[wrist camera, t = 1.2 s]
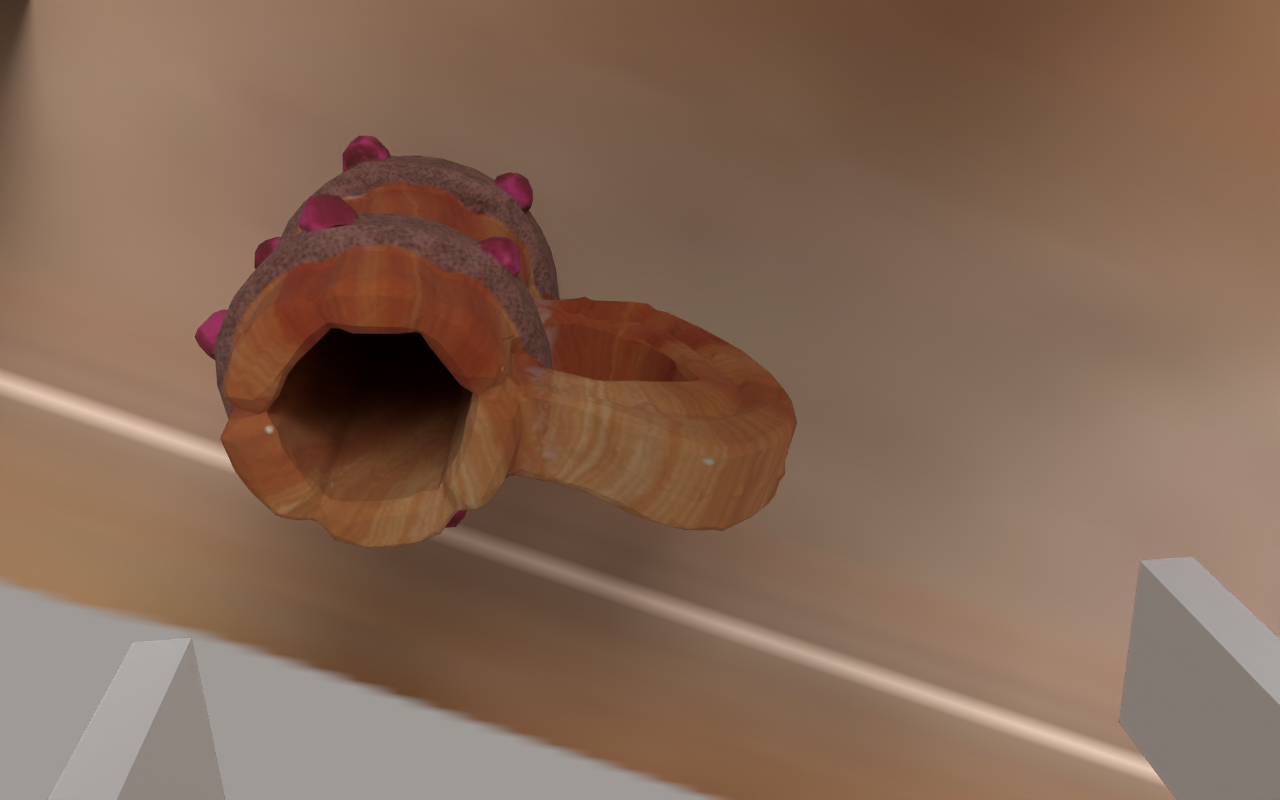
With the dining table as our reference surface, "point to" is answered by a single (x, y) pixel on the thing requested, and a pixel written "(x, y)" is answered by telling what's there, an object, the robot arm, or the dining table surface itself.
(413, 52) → the dining table surface
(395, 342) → the mug
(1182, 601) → the robot arm
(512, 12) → the dining table surface
